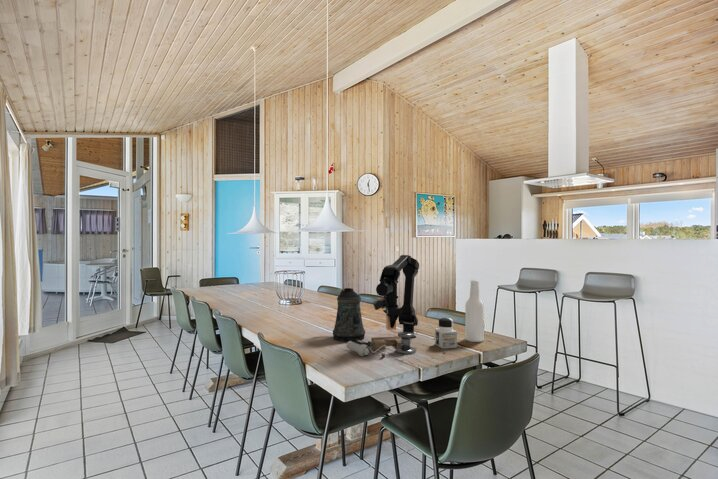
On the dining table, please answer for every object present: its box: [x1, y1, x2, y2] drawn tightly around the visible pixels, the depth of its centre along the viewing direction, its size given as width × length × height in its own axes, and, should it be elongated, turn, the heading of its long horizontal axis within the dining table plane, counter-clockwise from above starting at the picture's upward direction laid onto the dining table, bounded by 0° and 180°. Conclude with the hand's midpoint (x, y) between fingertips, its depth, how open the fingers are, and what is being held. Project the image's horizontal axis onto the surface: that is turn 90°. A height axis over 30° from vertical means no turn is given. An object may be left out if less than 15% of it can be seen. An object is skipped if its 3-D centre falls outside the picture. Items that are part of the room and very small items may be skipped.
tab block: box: [385, 314, 397, 331], centre depth 186 cm, size 4×4×6 cm
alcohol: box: [464, 279, 485, 343], centre depth 199 cm, size 9×9×30 cm
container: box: [434, 317, 458, 349], centre depth 187 cm, size 8×8×13 cm
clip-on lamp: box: [346, 339, 387, 358], centre depth 173 cm, size 12×6×18 cm
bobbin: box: [395, 331, 417, 355], centre depth 178 cm, size 9×9×8 cm
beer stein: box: [332, 287, 366, 343], centre depth 203 cm, size 16×19×25 cm
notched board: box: [370, 336, 401, 350], centre depth 189 cm, size 11×16×2 cm
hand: (391, 326), depth 186 cm, fingers closed on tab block, 4 cm apart
